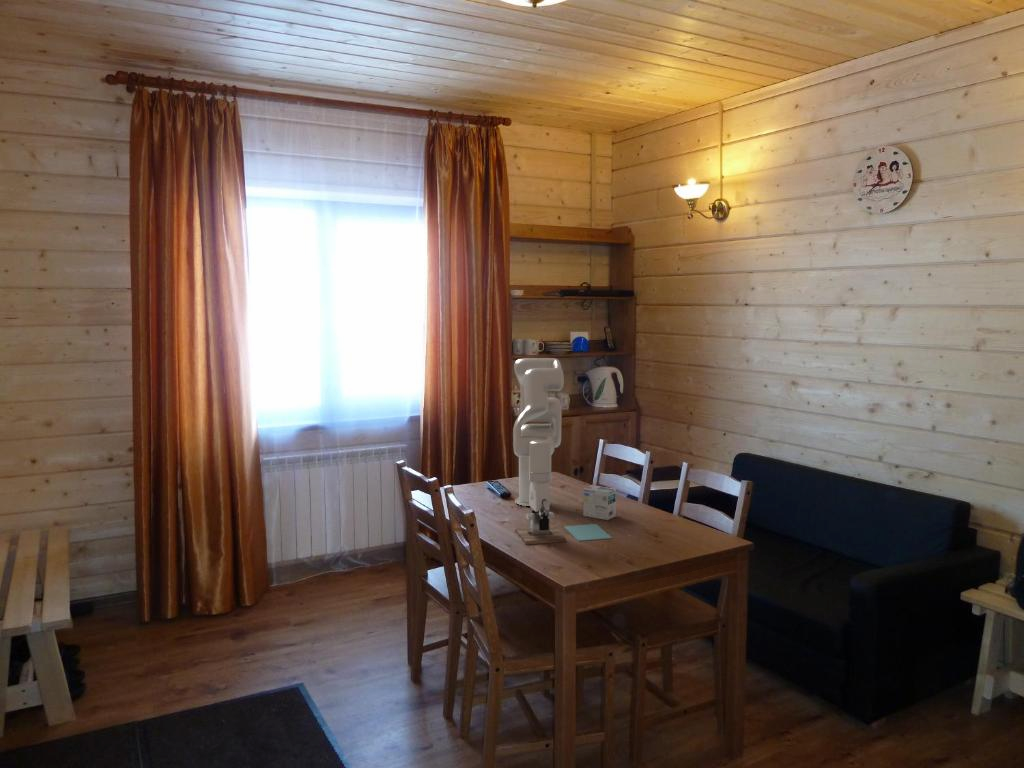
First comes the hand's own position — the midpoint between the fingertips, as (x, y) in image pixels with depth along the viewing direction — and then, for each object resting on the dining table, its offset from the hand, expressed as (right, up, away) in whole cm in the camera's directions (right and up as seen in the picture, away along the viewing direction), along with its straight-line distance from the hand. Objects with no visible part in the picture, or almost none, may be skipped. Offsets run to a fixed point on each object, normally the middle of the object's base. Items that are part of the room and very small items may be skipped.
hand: (540, 525), depth 259 cm
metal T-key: (0, -4, +1) cm, 4 cm away
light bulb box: (+23, -1, +25) cm, 34 cm away
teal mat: (+17, -3, +5) cm, 17 cm away
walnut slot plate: (0, -4, +1) cm, 4 cm away
